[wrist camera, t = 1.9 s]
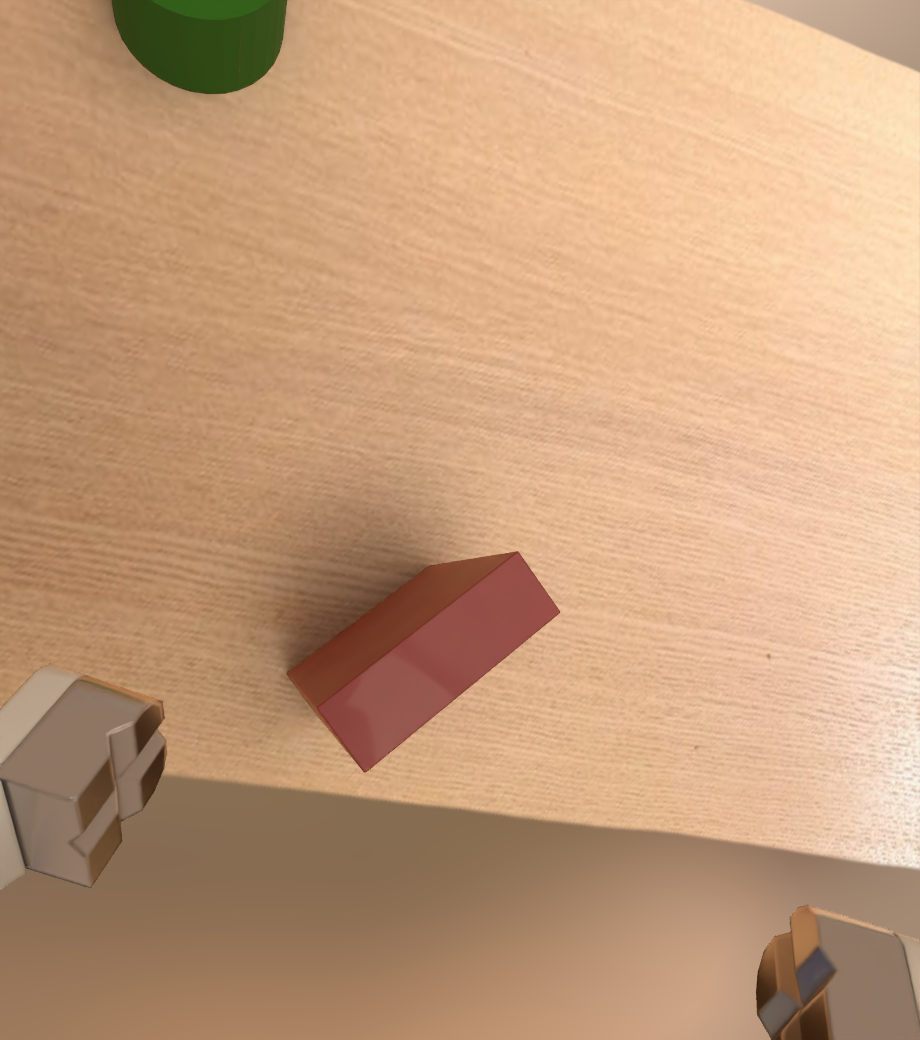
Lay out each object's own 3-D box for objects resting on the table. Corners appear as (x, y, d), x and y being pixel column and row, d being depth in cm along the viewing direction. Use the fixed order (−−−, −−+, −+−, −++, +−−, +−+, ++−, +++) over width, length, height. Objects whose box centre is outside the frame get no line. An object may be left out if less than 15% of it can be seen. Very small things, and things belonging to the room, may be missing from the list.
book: (320, 718, 40) (365, 773, 27) (286, 673, 40) (316, 707, 27) (461, 608, 42) (561, 612, 30) (430, 564, 42) (518, 550, 30)
